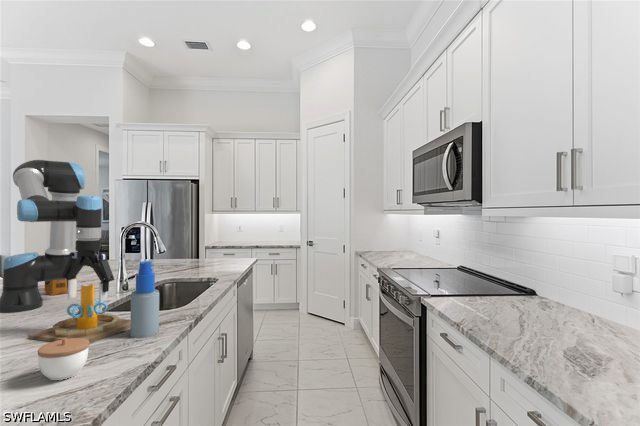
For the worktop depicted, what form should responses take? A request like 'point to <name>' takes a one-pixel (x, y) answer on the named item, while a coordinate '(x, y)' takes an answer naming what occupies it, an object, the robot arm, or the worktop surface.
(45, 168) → the robot arm
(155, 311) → the spray bottle
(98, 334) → the seat plate
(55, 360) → the lidded jar
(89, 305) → the cylinder
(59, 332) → the tan flat ring
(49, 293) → the coffee package
